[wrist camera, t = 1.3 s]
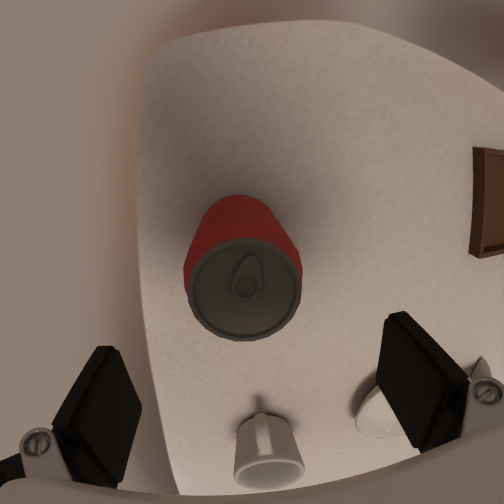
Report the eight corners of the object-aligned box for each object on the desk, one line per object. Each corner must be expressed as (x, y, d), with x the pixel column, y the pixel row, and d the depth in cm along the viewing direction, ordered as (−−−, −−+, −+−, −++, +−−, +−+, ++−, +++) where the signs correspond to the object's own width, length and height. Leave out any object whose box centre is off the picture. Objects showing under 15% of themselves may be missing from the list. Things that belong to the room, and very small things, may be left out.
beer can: (284, 201, 25) (327, 241, 14) (268, 273, 27) (294, 356, 16) (206, 188, 24) (184, 216, 13) (195, 262, 26) (171, 340, 15)
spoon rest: (341, 427, 35) (355, 465, 28) (359, 364, 31) (382, 406, 25) (464, 392, 36) (485, 418, 30) (490, 335, 33) (518, 359, 26)
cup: (222, 396, 31) (222, 451, 24) (292, 387, 32) (305, 440, 24) (237, 446, 35) (239, 493, 27) (295, 438, 35) (305, 484, 27)
